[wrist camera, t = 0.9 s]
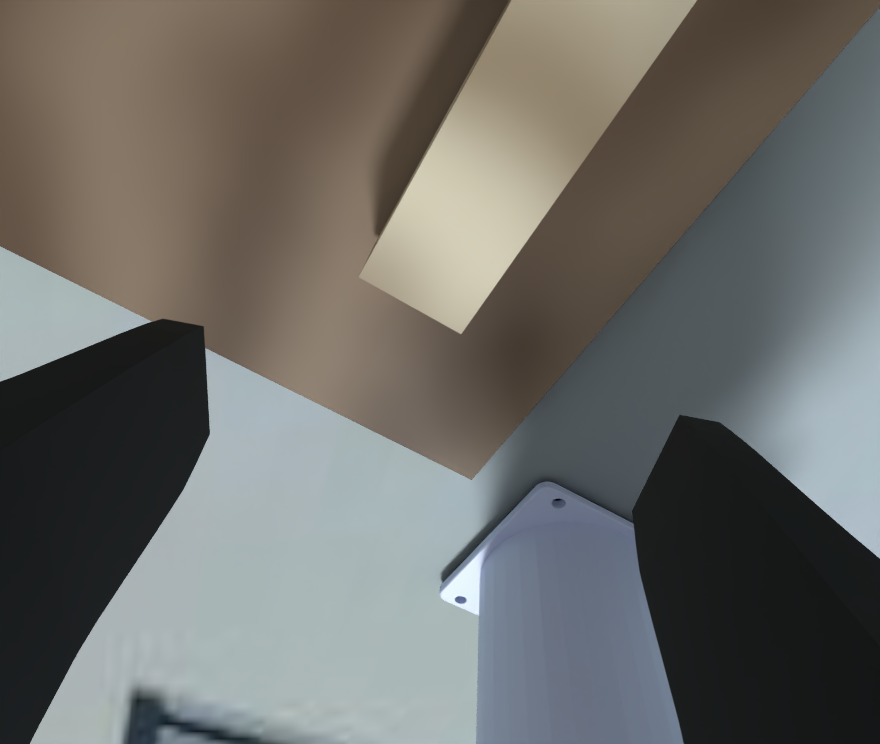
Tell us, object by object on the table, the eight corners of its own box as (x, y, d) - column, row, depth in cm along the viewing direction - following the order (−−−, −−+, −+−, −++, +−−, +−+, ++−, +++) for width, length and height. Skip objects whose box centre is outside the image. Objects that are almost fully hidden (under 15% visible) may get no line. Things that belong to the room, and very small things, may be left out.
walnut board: (947, -103, 12) (980, -111, 12) (472, 461, 22) (471, 479, 21) (48, -958, 8) (-2, -1066, 7) (-61, 192, 18) (-88, 202, 17)
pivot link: (692, -371, 10) (754, -486, 8) (841, -229, 11) (940, -292, 8) (364, 240, 16) (342, 280, 14) (473, 303, 17) (470, 351, 15)
